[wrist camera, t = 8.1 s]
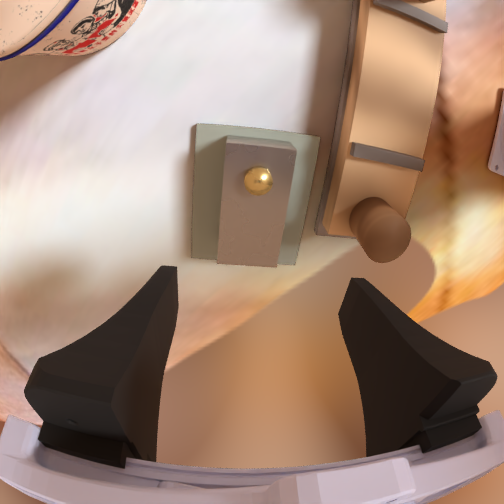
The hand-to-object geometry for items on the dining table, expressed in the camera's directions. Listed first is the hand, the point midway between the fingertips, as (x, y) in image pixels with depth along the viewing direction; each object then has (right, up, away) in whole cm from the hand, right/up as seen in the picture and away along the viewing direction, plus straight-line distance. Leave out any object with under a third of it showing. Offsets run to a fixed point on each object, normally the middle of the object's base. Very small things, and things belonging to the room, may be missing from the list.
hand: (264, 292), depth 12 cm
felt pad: (-1, +5, +9) cm, 10 cm away
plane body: (+8, +12, +5) cm, 16 cm away
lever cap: (-1, +5, +8) cm, 10 cm away
